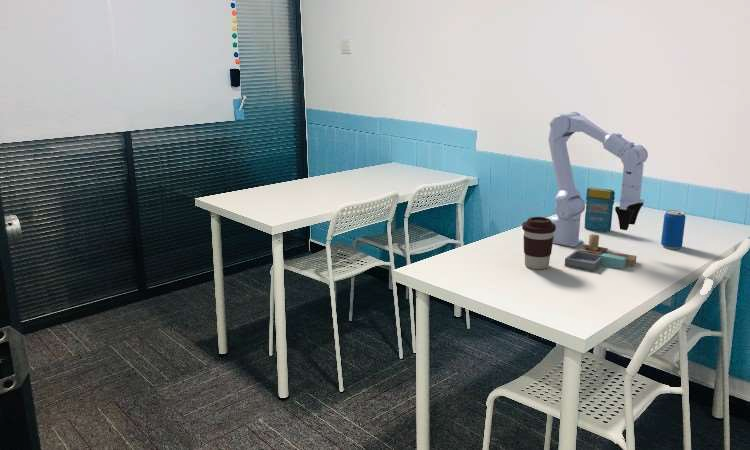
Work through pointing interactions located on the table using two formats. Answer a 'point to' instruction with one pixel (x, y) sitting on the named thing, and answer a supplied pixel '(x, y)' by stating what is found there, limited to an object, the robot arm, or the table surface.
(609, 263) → the teal rectangular block
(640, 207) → the robot arm
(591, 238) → the dowel
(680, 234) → the beverage can
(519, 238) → the table surface
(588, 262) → the tray
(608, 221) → the teal coffee bag
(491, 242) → the table surface
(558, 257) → the table surface
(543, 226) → the coffee cup
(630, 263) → the tan wooden slab
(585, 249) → the socket
